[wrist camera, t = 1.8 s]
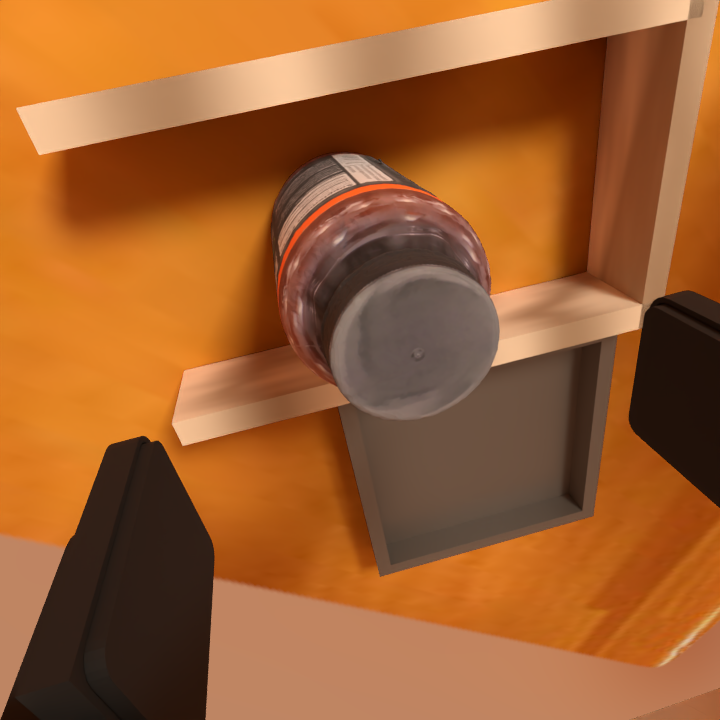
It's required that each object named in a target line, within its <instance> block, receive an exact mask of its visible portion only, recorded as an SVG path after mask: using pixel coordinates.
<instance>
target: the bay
mask: <svg viewBox="0 0 720 720" xmlns="http://www.w3.org/2000/svg"><path fill="white" fill-rule="evenodd" d="M718 4H719V0H551V1H546V2H541V3H536V4H531V5H526V6H521V7H516V8H511V9H506V10H501V11H496V12H491V13H486V14H481V15H476V16H471V17H466V18H461V19H456V20H451V21H446V22H441V23H436V24H431V25H426V26H421V27H416V28H411V29H406V30H402V31H397V32H392V33H387V34H382V35H377V36H372V37H367V38H362V39H357V40H352V41H347V42H342V43H337V44H332V45H327V46H322V47H317V48H312V49H307V50H302V51H297V52H292V53H287V54H282V55H277V56H272V57H267V58H262V59H257V60H252V61H247V62H243V63H238V64H233V65H228V66H223V67H218V68H213V69H208V70H203V71H198V72H193V73H188V74H183V75H178V76H173V77H168V78H163V79H158V80H153V81H148V82H143V83H138V84H133V85H128V86H123V87H118V88H113V89H108V90H103V91H98V92H93V93H88V94H84V95H79V96H74V97H69V98H64V99H59V100H54V101H49V102H44V103H39V104H34V105H29V106H24V107H19V108H16V109H17V111H18V113H19V116H20V118H21V120H22V122H23V124H24V126H25V128H26V130H27V132H28V134H29V136H30V138H31V140H32V142H33V144H34V146H35V148H36V150H37V152H38V154H39V155H42V154H46V153H51V152H56V151H61V150H65V149H70V148H75V147H80V146H85V145H89V144H94V143H99V142H104V141H109V140H113V139H118V138H123V137H128V136H133V135H137V134H142V133H147V132H152V131H156V130H161V129H166V128H171V127H176V126H180V125H185V124H190V123H195V122H200V121H204V120H209V119H214V118H219V117H224V116H228V115H233V114H238V113H243V112H248V111H252V110H257V109H262V108H267V107H271V106H276V105H281V104H286V103H291V102H295V101H300V100H305V99H310V98H315V97H319V96H324V95H329V94H334V93H339V92H343V91H348V90H353V89H358V88H363V87H367V86H372V85H377V84H382V83H386V82H391V81H396V80H401V79H406V78H410V77H415V76H420V75H425V74H430V73H434V72H439V71H444V70H449V69H454V68H458V67H463V66H468V65H473V64H477V63H482V62H487V61H492V60H497V59H501V58H506V57H511V56H516V55H521V54H525V53H530V52H535V51H540V50H545V49H549V48H554V47H559V46H564V45H569V44H573V43H578V42H583V41H588V40H592V39H597V38H602V37H607V46H606V58H605V69H604V81H603V92H602V104H601V115H600V127H599V138H598V150H597V161H596V173H595V184H594V196H593V207H592V219H591V230H590V242H589V253H588V265H587V272H585V273H581V274H576V275H572V276H568V277H564V278H560V279H556V280H552V281H548V282H544V283H540V284H536V285H532V286H528V287H523V288H519V289H515V290H511V291H507V292H503V293H499V294H495V295H491V296H490V298H491V299H492V301H493V303H494V306H495V308H496V311H497V315H498V319H499V328H500V334H499V342H498V350H497V353H496V355H495V358H494V361H493V363H492V365H491V367H493V366H497V365H501V364H504V363H508V362H512V361H516V360H520V359H524V358H528V357H532V356H536V355H540V354H543V353H547V352H551V351H555V350H559V349H563V348H567V347H571V346H575V345H579V344H583V343H586V342H590V341H594V340H598V339H602V338H606V337H610V336H614V335H618V334H622V333H625V332H629V331H633V330H637V329H641V328H642V326H643V320H644V315H645V312H646V311H647V309H649V308H650V306H651V304H652V302H653V301H654V300H655V299H657V298H659V297H663V296H665V291H666V286H667V280H668V275H669V270H670V264H671V259H672V253H673V248H674V243H675V237H676V232H677V226H678V221H679V215H680V210H681V205H682V199H683V194H684V188H685V183H686V177H687V172H688V167H689V161H690V156H691V150H692V145H693V139H694V134H695V129H696V123H697V118H698V112H699V107H700V101H701V96H702V91H703V85H704V80H705V74H706V69H707V63H708V58H709V53H710V47H711V42H712V36H713V31H714V26H715V20H716V15H717V9H718ZM348 403H350V402H349V401H348V400H347V399H346V398H345V397H344V396H343V394H342V393H341V392H340V390H339V389H338V387H336V386H334V385H332V384H330V383H328V382H327V381H325V380H323V379H322V378H320V377H318V376H317V375H316V374H314V373H313V372H312V371H311V370H310V369H309V368H308V367H307V366H306V365H304V363H303V362H302V361H301V360H300V358H299V357H298V355H297V354H296V353H295V351H294V350H293V348H292V346H291V345H287V346H283V347H279V348H275V349H271V350H267V351H262V352H258V353H254V354H250V355H246V356H242V357H238V358H234V359H230V360H226V361H222V362H218V363H214V364H209V365H205V366H201V367H197V368H193V369H189V370H185V371H184V373H183V378H182V382H181V386H180V390H179V395H178V399H177V403H176V407H175V412H174V416H173V420H172V425H173V427H174V429H175V431H176V433H177V435H178V437H179V439H180V441H181V443H182V445H183V446H185V445H188V444H192V443H196V442H200V441H204V440H208V439H212V438H216V437H220V436H224V435H227V434H231V433H235V432H239V431H243V430H247V429H251V428H255V427H259V426H263V425H266V424H270V423H274V422H278V421H282V420H286V419H290V418H294V417H298V416H302V415H305V414H309V413H313V412H317V411H321V410H325V409H329V408H333V407H337V406H341V405H344V404H348Z"/></svg>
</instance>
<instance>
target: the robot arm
mask: <svg viewBox="0 0 720 720" xmlns="http://www.w3.org/2000/svg"><path fill="white" fill-rule="evenodd" d="M629 422H630V425H631V428H632V429H633V431H634V432H635V433H636V434H637V435H638V436H639V437H640V438H641V439H642V440H643V441H645V442H646V443H647V444H648V445H649V446H650V447H651V448H652V449H654V450H655V451H656V452H657V453H658V454H659V455H660V456H661V457H663V458H664V459H665V460H666V461H667V462H668V463H669V464H671V465H672V466H673V467H674V468H675V469H676V470H677V471H678V472H680V473H681V474H682V475H683V476H684V477H685V478H686V479H687V480H689V481H690V482H691V483H692V484H693V485H694V486H695V487H697V488H698V489H699V490H700V491H701V492H702V493H703V494H704V495H706V496H707V497H708V498H709V499H710V500H711V501H712V502H714V503H715V504H716V505H717V506H718V507H719V508H720V304H719V303H717V302H715V301H713V300H711V299H708V298H706V297H704V296H702V295H700V294H697V293H695V292H692V291H682V292H678V293H674V294H670V295H667V296H663V297H659V298H657V299H655V300H654V301H653V302H652V304H651V306H650V308H649V309H647V311H646V312H645V315H644V320H643V326H642V333H641V339H640V346H639V352H638V359H637V365H636V372H635V378H634V385H633V391H632V398H631V404H630V411H629ZM213 576H214V548H213V544H212V541H211V538H210V536H209V534H208V532H207V530H206V528H205V526H204V524H203V522H202V521H201V519H200V517H199V515H198V513H197V511H196V509H195V507H194V505H193V503H192V501H191V499H190V497H189V495H188V493H187V492H186V490H185V488H184V486H183V484H182V482H181V480H180V478H179V476H178V474H177V472H176V470H175V468H174V466H173V464H172V462H171V461H170V459H169V457H168V455H167V453H166V451H165V449H164V447H163V445H162V444H161V443H160V442H159V441H154V442H150V440H149V439H148V438H147V437H145V436H140V437H137V438H133V439H129V440H125V441H122V442H118V443H114V444H111V445H109V446H108V448H107V449H106V452H105V454H104V457H103V460H102V463H101V465H100V468H99V471H98V473H97V476H96V479H95V481H94V484H93V487H92V490H91V492H90V495H89V498H88V500H87V503H86V506H85V508H84V511H83V514H82V517H81V519H80V522H79V525H78V527H77V530H76V533H75V535H74V536H73V537H72V538H71V539H70V541H69V542H68V544H67V546H66V548H65V551H64V554H63V556H62V559H61V562H60V564H59V567H58V569H57V572H56V575H55V577H54V580H53V583H52V585H51V588H50V591H49V593H48V596H47V599H46V602H45V604H44V606H43V609H42V612H41V615H40V617H39V620H38V623H37V625H36V628H35V630H34V633H33V635H32V638H31V641H30V643H29V646H28V649H27V652H26V654H25V657H24V659H23V662H22V665H21V667H20V670H19V672H18V675H17V678H16V680H15V683H14V686H13V688H12V691H11V693H10V696H9V699H8V701H7V704H6V707H5V709H4V712H3V715H2V717H1V720H205V717H206V700H207V699H206V698H207V682H208V664H209V647H210V628H211V610H212V593H213ZM631 720H720V688H719V689H716V690H713V691H710V692H707V693H704V694H702V695H699V696H696V697H693V698H690V699H687V700H685V701H682V702H679V703H676V704H674V705H671V706H668V707H665V708H662V709H660V710H657V711H654V712H651V713H648V714H645V715H643V716H640V717H637V718H634V719H631Z"/></svg>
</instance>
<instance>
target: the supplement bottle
mask: <svg viewBox="0 0 720 720" xmlns="http://www.w3.org/2000/svg"><path fill="white" fill-rule="evenodd" d="M378 160H379V161H378ZM378 160H377V159H375V158H373V157H370V156H366V155H362V154H359V153H351V152H336V153H328V154H325V155H321V156H319V157H316V158H314V159H312V160H310V161H308V162H307V163H305V164H304V165H302V166H301V167H299V168H298V169H297V170H296V171H295V172H294V173H293V174H292V175H291V176H290V177H289V178H288V180H287V181H286V182H285V184H284V185H283V187H282V189H281V190H280V192H279V195H278V197H277V199H276V201H275V204H274V209H273V214H272V223H271V238H272V248H273V259H274V272H275V279H276V288H277V299H278V306H279V314H280V318H281V322H282V325H283V328H284V331H285V334H286V336H287V338H288V340H289V342H290V344H291V346H292V348H293V350H294V351H295V353H296V354H297V355H298V357H299V358H300V360H301V361H302V362H303V363H304V365H306V366H307V367H308V368H309V369H310V370H311V371H312V372H313V373H314V374H316V375H317V376H318V377H320V378H322V379H323V380H325V381H327V382H328V383H330V384H332V385H334V386H336V387H338V389H339V390H340V392H341V393H342V394H343V396H344V397H345V398H346V399H347V400H348V401H349V402H350V403H351V404H352V405H353V406H355V407H356V408H357V409H359V410H360V411H362V412H364V413H367V414H369V415H371V416H374V417H377V418H380V419H384V420H393V421H412V420H418V419H423V418H427V417H431V416H434V415H437V414H439V413H440V412H443V411H445V410H447V409H449V408H451V407H452V406H454V405H456V404H457V403H459V402H460V401H461V400H463V399H465V398H466V397H467V396H468V395H469V394H470V393H471V392H472V391H473V390H474V389H475V388H476V387H477V386H478V385H479V384H480V382H481V381H482V380H483V379H484V378H485V376H486V375H487V373H488V372H489V370H490V368H491V365H492V363H493V361H494V358H495V355H496V353H497V350H498V342H499V334H500V328H499V319H498V315H497V311H496V308H495V306H494V303H493V301H492V299H491V298H490V291H491V277H490V268H489V263H488V260H487V257H486V254H485V251H484V249H483V247H482V244H481V242H480V240H479V238H478V237H477V235H476V233H475V232H474V230H473V229H472V227H471V226H470V225H469V223H468V222H467V221H466V220H465V219H464V218H463V217H462V216H461V215H460V214H459V213H458V212H456V211H455V210H454V209H452V208H451V207H450V206H449V205H447V204H446V203H444V202H443V201H441V200H439V199H438V198H437V197H436V196H435V195H433V194H432V193H431V192H429V191H427V190H425V189H423V188H421V187H419V186H418V185H417V184H415V183H414V182H412V181H411V180H409V179H407V178H406V177H404V176H402V175H401V174H399V173H398V172H396V171H395V170H393V169H392V168H390V167H389V166H387V165H386V164H384V163H383V162H382V161H381V159H378Z"/></svg>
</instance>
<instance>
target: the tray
mask: <svg viewBox="0 0 720 720" xmlns="http://www.w3.org/2000/svg"><path fill="white" fill-rule="evenodd" d="M616 342H617V335H614V336H610V337H606V338H602V339H598V340H594V341H590V342H586V343H583V344H579V345H575V346H571V347H567V348H563V349H559V350H555V351H551V352H547V353H543V354H540V355H536V356H532V357H528V358H524V359H520V360H516V361H512V362H508V363H504V364H501V365H497V366H493V367H491V368H490V370H489V372H488V373H487V375H486V376H485V378H484V379H483V380H482V381H481V382H480V384H479V385H478V386H477V387H476V388H475V389H474V390H473V391H472V392H471V393H470V394H469V395H468V396H467V397H466V398H465V399H463V400H461V401H460V402H459V403H457V404H456V405H454V406H452V407H451V408H449V409H447V410H445V411H443V412H440V413H439V414H437V415H434V416H431V417H427V418H423V419H418V420H412V421H393V420H384V419H380V418H377V417H374V416H371V415H369V414H367V413H364V412H362V411H360V410H359V409H357V408H356V407H355V406H353V405H352V404H351V403H348V404H344V405H341V406H338V410H339V414H340V418H341V422H342V426H343V430H344V434H345V438H346V442H347V446H348V450H349V454H350V458H351V462H352V466H353V470H354V474H355V478H356V482H357V486H358V490H359V494H360V498H361V502H362V506H363V510H364V514H365V518H366V523H367V527H368V531H369V535H370V539H371V543H372V547H373V551H374V555H375V559H376V563H377V567H378V570H379V574H380V577H381V576H384V575H388V574H391V573H395V572H398V571H402V570H405V569H409V568H412V567H416V566H419V565H423V564H426V563H430V562H433V561H437V560H440V559H444V558H447V557H451V556H455V555H458V554H462V553H465V552H469V551H472V550H476V549H479V548H483V547H486V546H490V545H493V544H497V543H500V542H504V541H507V540H511V539H514V538H518V537H521V536H525V535H528V534H532V533H535V532H539V531H543V530H546V529H550V528H553V527H557V526H560V525H564V524H567V523H571V522H574V521H578V520H581V519H585V518H588V517H592V516H593V515H594V507H595V500H596V492H597V485H598V477H599V470H600V462H601V455H602V447H603V439H604V432H605V424H606V417H607V409H608V402H609V394H610V387H611V379H612V372H613V364H614V357H615V349H616Z"/></svg>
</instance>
